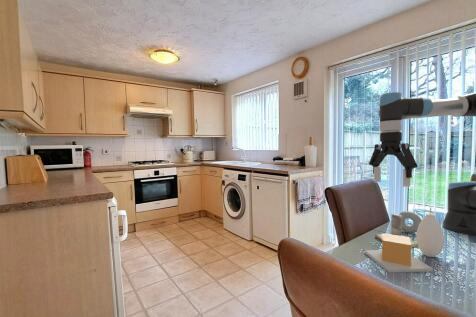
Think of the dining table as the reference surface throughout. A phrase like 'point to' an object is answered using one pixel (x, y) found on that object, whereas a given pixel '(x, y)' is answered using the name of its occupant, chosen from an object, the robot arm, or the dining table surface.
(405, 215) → the donut
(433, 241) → the white egg shape
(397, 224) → the post stand
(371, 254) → the mat
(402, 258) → the orange block
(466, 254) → the dining table surface
